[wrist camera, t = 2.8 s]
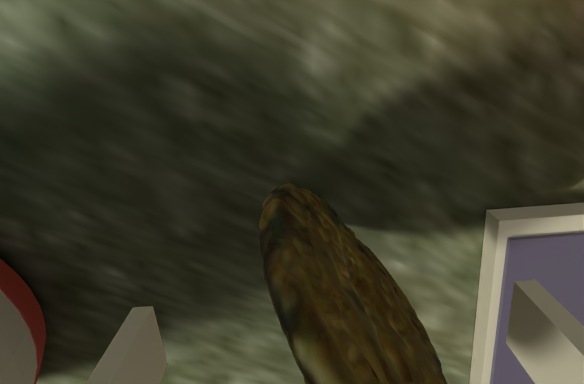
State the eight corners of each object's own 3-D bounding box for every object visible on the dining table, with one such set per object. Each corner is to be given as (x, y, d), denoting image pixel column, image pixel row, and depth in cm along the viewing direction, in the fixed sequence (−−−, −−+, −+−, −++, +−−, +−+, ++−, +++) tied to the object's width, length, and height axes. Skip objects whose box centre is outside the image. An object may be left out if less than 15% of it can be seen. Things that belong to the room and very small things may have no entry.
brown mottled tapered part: (409, 251, 22) (617, 625, 8) (350, 304, 23) (437, 706, 9) (282, 144, 20) (253, 392, 6) (225, 209, 21) (86, 542, 7)
